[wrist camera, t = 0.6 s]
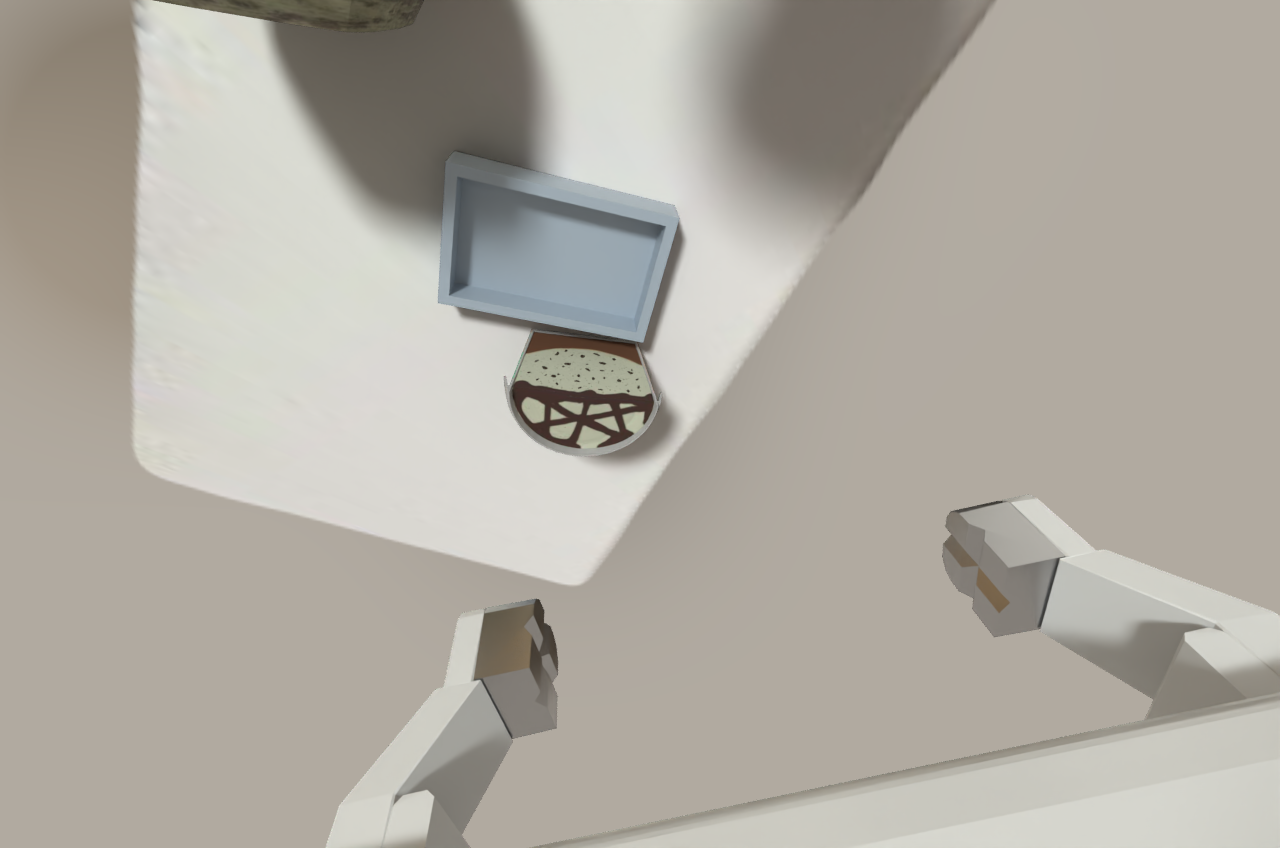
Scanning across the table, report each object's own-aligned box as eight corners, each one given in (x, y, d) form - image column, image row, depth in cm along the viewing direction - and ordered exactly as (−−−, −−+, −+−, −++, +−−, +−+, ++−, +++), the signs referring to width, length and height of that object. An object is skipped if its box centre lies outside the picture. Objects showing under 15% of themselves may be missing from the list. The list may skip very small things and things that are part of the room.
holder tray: (454, 150, 42) (445, 161, 39) (674, 205, 45) (679, 218, 43) (445, 286, 48) (437, 302, 45) (640, 325, 51) (643, 342, 49)
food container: (511, 385, 54) (498, 455, 46) (514, 326, 50) (500, 391, 42) (641, 399, 56) (650, 468, 48) (653, 343, 52) (665, 407, 44)
